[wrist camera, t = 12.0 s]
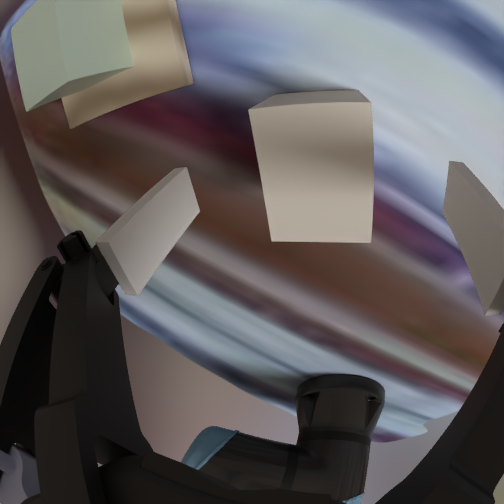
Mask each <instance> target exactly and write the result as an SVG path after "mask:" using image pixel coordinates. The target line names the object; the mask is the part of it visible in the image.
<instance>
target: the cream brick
mask: <svg viewBox="0 0 504 504" xmlns="http://www.w3.org/2000/svg"><path fill="white" fill-rule="evenodd" d="M248 111H249V117H250V122H251V127H252V132H253V138H254V143H255V149H256V154H257V159H258V165H259V170H260V176H261V182H262V187H263V193H264V199H265V204H266V210H267V216H268V222H269V228H270V234H271V240H272V241H291V242H357V243H371V234H372V217H373V192H374V146H373V121H372V105H371V102H370V101H369V100H368V99H367V98H366V97H365V96H364V95H363V94H362V93H361V92H360V91H359V90H335V91H312V92H298V93H286V94H276V95H273V96H271V97H270V98H268V99H266V100H264V101H262V102H260V103H259V104H257V105H255V106H253V107H252V108H250V109H248Z"/></svg>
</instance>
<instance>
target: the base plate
mask: <svg viewBox="0 0 504 504" xmlns="http://www.w3.org/2000/svg"><path fill="white" fill-rule="evenodd" d="M121 5H122V11H123V16H124V21H125V26H126V31H127V36H128V41H129V45H130V50H131V55H132V59H133V63H134V67H132V68H129V69H127V70H125V71H123V72H120V73H118V74H116V75H114V76H112V77H110V78H108V79H106V80H104V81H102V82H100V83H98V84H96V85H94V86H92V87H90V88H88V89H87V90H83V91H80V92H77V93H74V94H71V95H68V96H65V97H63V98H62V102H63V106H64V109H65V113H66V116H67V120H68V123H69V126H70V129H72V128H74V127H76V126H78V125H81V124H83V123H85V122H87V121H89V120H91V119H94V118H96V117H98V116H101V115H103V114H105V113H108V112H110V111H113V110H115V109H118V108H120V107H123V106H126V105H128V104H131V103H134V102H136V101H139V100H142V99H145V98H148V97H151V96H154V95H157V94H160V93H164V92H167V91H170V90H174V89H177V88H181V87H184V86H188V85H192V84H194V82H193V77H192V73H191V69H190V64H189V60H188V55H187V51H186V46H185V42H184V37H183V33H182V28H181V23H180V19H179V14H178V9H177V5H176V0H121Z"/></svg>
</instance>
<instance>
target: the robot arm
mask: <svg viewBox="0 0 504 504" xmlns="http://www.w3.org/2000/svg"><path fill="white" fill-rule="evenodd" d="M199 212H200V210H199V207H198V203H197V200H196V197H195V194H194V190H193V187H192V184H191V180H190V177H189V173H188V170H187V167H183V168H175V169H174V170H172V171H171V172H170V173H169V174H168V175H166V176H165V177H164V178H163V179H162V180H161V181H159V182H158V183H157V184H156V185H155V186H154V187H153V188H151V189H150V190H149V191H148V192H147V193H146V194H145V195H144V196H142V197H141V198H140V199H139V200H138V201H137V202H136V203H135V204H134V205H133V206H132V207H131V208H129V209H128V210H127V211H126V212H125V213H124V214H123V215H122V216H121V217H120V218H119V219H118V220H117V221H116V222H115V223H114V224H113V225H112V226H111V227H110V228H109V229H108V230H107V231H106V232H105V233H104V234H103V235H102V236H101V237H100V238H99V239H98V240H97V241H96V245H95V246H94V247H93V248H92V249H91V247H90V245H89V243H88V242H87V240H86V238H85V236H84V234H83V232H82V231H80V230H79V231H75V232H72V233H70V234H69V235H67V236H66V237H64V238H63V239H62V240H61V241H60V242H59V243H58V245H57V248H58V249H59V251H60V253H61V255H62V256H63V258H64V260H65V261H66V263H65V264H61V263H60V261H59V259H58V258H57V257H56V256H52V257H49V258H46V259H45V260H43V261H42V263H41V264H40V265H39V267H38V268H37V270H36V271H35V273H34V275H33V277H32V279H31V280H30V282H29V284H28V286H27V288H26V290H25V292H24V294H23V296H22V298H21V300H20V302H19V304H18V306H17V308H16V310H15V312H14V314H13V316H12V319H11V321H10V323H9V325H8V328H7V330H6V332H5V335H4V337H3V340H2V342H1V345H0V503H1V504H361V500H362V497H363V495H364V487H365V481H366V474H367V467H368V460H369V452H370V443H371V436H372V433H373V431H374V429H375V426H376V424H377V421H378V419H379V417H380V414H381V412H382V409H383V407H384V402H385V390H384V388H383V387H382V386H381V385H380V384H379V383H377V382H375V381H373V380H371V379H368V378H364V377H359V376H351V375H329V376H321V377H316V378H313V379H310V380H307V381H305V382H304V383H302V384H301V385H300V386H299V387H298V390H297V395H296V400H295V403H296V411H297V418H298V425H299V436H298V440H297V444H296V445H292V444H287V443H282V442H277V441H273V440H268V439H263V438H260V437H255V436H252V435H248V434H244V433H241V432H239V431H238V430H235V431H233V430H229V429H225V428H221V427H217V426H211V427H208V428H205V429H204V430H203V431H201V433H199V435H198V436H197V437H196V439H195V440H194V441H193V443H192V444H191V446H190V447H189V449H188V450H187V452H186V454H185V455H184V457H183V459H182V461H181V462H178V461H175V460H173V459H170V458H167V457H165V456H163V455H160V454H157V453H155V452H153V449H152V448H151V446H150V444H149V443H148V441H147V440H146V439H145V437H144V436H143V434H142V432H141V430H140V426H139V422H138V418H137V414H136V410H135V406H134V401H133V396H132V391H131V386H130V381H129V375H128V369H127V364H126V357H125V350H124V344H123V336H122V327H121V318H120V308H119V296H118V294H117V292H116V290H115V288H116V287H117V285H118V284H119V285H120V286H121V288H122V290H123V291H124V293H125V294H128V295H134V296H138V295H139V294H140V292H141V291H142V290H143V288H144V287H145V285H146V284H147V282H148V281H149V279H150V278H151V277H152V275H153V274H154V272H155V271H156V270H157V268H158V267H159V265H160V264H161V263H162V261H163V260H164V258H165V257H166V256H167V254H168V253H169V252H170V250H171V249H172V248H173V246H174V245H175V243H176V242H177V241H178V239H179V238H180V237H181V235H182V234H183V233H184V231H185V230H186V229H187V228H188V226H189V225H190V224H191V222H192V221H193V220H194V218H195V217H196V216H197V215H198V213H199ZM442 212H443V214H444V216H445V218H446V220H447V222H448V224H449V226H450V228H451V230H452V232H453V234H454V236H455V239H456V241H457V243H458V245H459V247H460V249H461V252H462V254H463V256H464V259H465V261H466V263H467V266H468V268H469V271H470V273H471V276H472V279H473V281H474V284H475V287H476V289H477V292H478V295H479V298H480V301H481V304H482V307H483V310H484V313H485V315H498V314H501V313H502V312H503V310H504V210H503V208H502V207H501V206H500V204H499V203H498V202H497V201H496V199H495V198H494V197H493V196H492V194H491V193H490V192H489V191H488V190H487V189H486V187H485V186H484V185H483V184H482V183H481V182H480V180H479V179H478V178H477V177H476V176H475V175H474V174H473V173H472V172H471V171H470V169H469V168H468V167H467V166H466V165H465V164H464V163H463V162H454V161H449V170H448V178H447V186H446V193H445V199H444V206H443V211H442ZM50 295H51V296H52V297H53V299H54V300H55V302H56V303H57V309H55V308H54V307H53V305H52V304H51V303H50V301H49V296H50ZM498 332H500V333H501V334H500V336H499V338H498V340H497V343H496V345H495V347H494V349H493V351H492V353H491V356H490V358H489V360H488V362H487V364H486V366H485V368H484V369H483V371H482V373H481V375H480V377H479V379H478V381H477V382H476V384H475V386H474V388H473V389H472V391H471V393H470V394H469V396H468V398H467V399H466V401H465V402H464V404H463V406H462V407H461V409H460V410H459V412H458V413H457V415H456V416H455V418H454V419H453V421H452V422H451V423H450V425H449V426H448V428H447V429H446V430H445V432H444V433H443V435H442V436H441V437H440V438H439V440H438V441H437V442H436V444H435V445H434V446H433V448H432V449H431V450H430V451H429V452H428V454H427V455H426V456H425V457H424V458H423V459H422V461H421V462H420V463H419V464H418V465H417V466H416V468H415V469H414V470H413V471H412V472H411V473H410V474H409V475H408V476H407V477H406V478H405V479H404V480H403V481H402V482H400V483H399V484H398V485H396V486H395V487H394V488H393V489H391V490H390V491H389V492H388V493H387V494H385V495H384V496H383V497H382V498H381V499H380V500H379V501H378V502H376V503H375V504H494V503H495V500H494V497H493V492H494V489H495V487H496V485H497V484H498V482H499V480H500V479H501V477H502V475H503V474H504V323H503V325H502V326H501V328H500V330H499V331H498ZM14 443H16V445H15V444H14ZM97 462H98V463H100V464H102V466H100V467H98V464H97Z"/></svg>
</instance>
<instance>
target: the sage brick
mask: <svg viewBox="0 0 504 504" xmlns="http://www.w3.org/2000/svg"><path fill="white" fill-rule="evenodd" d="M11 32H12V42H13V49H14V56H15V62H16V68H17V74H18V79H19V84H20V88H21V93H22V97H23V101H24V105H25V109H26V112H27V111H30V110H32V109H34V108H37V107H39V106H42V105H44V104H47V103H49V102H52V101H54V100H57V99H60V98H63V97H65V96H68V95H71V94H74V93H77V92H80V91H83V90H87V89H88V88H90V87H92V86H94V85H96V84H98V83H100V82H102V81H104V80H106V79H108V78H110V77H112V76H114V75H116V74H118V73H120V72H123V71H125V70H127V69H129V68H132V67H134V63H133V59H132V55H131V50H130V45H129V41H128V36H127V31H126V26H125V21H124V16H123V11H122V5H121V0H37V1H36V2H35V3H34V4H33V5H32V6H31V7H30V8H29V9H28V11H27V12H26V13H25V14H24V15H23V16H22V17H21V18H20V19H19V20H18V22H17V23H16V24H15V25H14V26H13V27H12V29H11Z"/></svg>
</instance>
